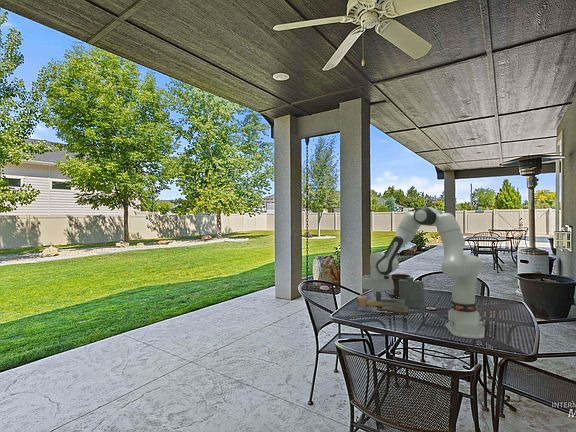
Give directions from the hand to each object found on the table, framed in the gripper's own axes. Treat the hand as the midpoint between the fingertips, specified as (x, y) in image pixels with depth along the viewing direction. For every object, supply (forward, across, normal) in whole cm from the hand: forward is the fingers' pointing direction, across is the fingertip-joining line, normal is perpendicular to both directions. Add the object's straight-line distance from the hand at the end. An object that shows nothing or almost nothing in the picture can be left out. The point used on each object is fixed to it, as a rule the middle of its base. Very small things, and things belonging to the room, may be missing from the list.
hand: (378, 296), depth 207 cm
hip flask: (+9, +20, +11) cm, 25 cm away
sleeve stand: (+9, +2, 0) cm, 9 cm away
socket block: (+7, -11, 0) cm, 13 cm away
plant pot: (+9, +12, +34) cm, 37 cm away
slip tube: (+6, -3, 0) cm, 7 cm away
